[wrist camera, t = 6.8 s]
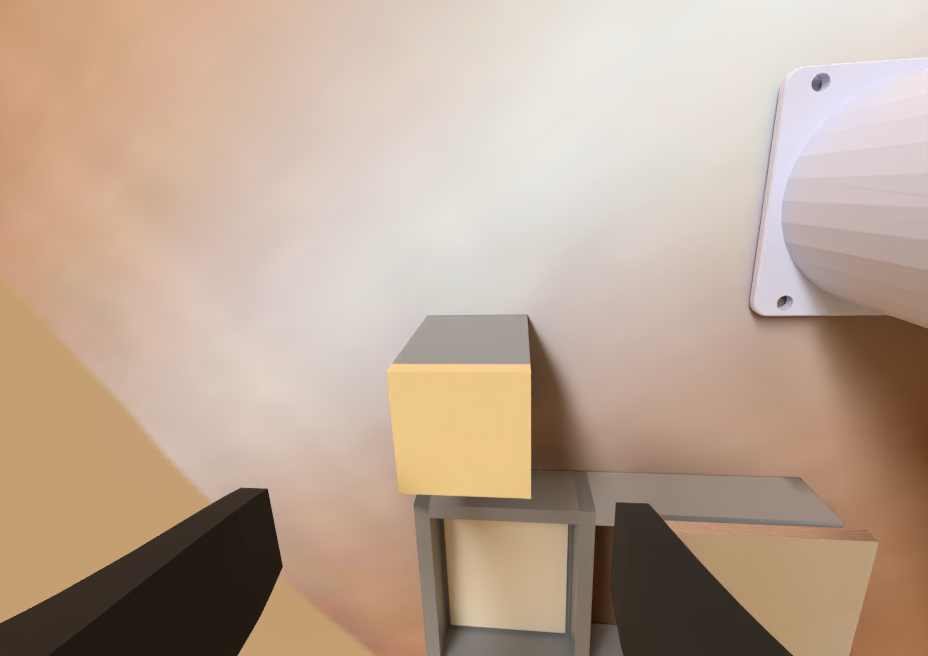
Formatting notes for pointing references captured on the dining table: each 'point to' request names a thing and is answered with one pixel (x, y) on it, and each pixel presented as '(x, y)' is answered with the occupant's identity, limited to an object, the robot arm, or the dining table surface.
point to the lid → (790, 578)
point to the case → (563, 553)
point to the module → (463, 407)
